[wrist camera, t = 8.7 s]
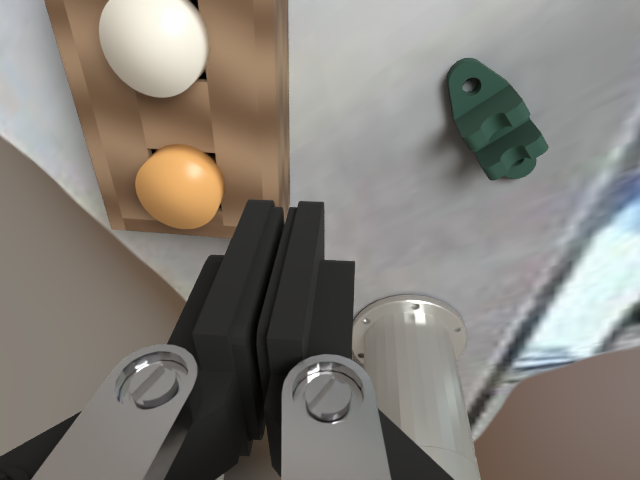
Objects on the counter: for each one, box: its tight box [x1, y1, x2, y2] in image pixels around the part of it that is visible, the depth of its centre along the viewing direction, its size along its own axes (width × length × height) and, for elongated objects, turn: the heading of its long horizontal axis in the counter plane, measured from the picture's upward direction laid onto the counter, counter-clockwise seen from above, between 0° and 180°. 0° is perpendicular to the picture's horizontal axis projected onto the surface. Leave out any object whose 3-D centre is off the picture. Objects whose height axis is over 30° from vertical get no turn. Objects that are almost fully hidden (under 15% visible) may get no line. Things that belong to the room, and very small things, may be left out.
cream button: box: [99, 0, 211, 98], centre depth 29 cm, size 6×6×6 cm
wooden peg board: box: [45, 0, 290, 238], centre depth 33 cm, size 20×14×6 cm
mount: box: [447, 58, 548, 180], centre depth 33 cm, size 11×4×5 cm, turn 39°
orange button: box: [135, 144, 225, 229], centre depth 34 cm, size 6×6×6 cm
